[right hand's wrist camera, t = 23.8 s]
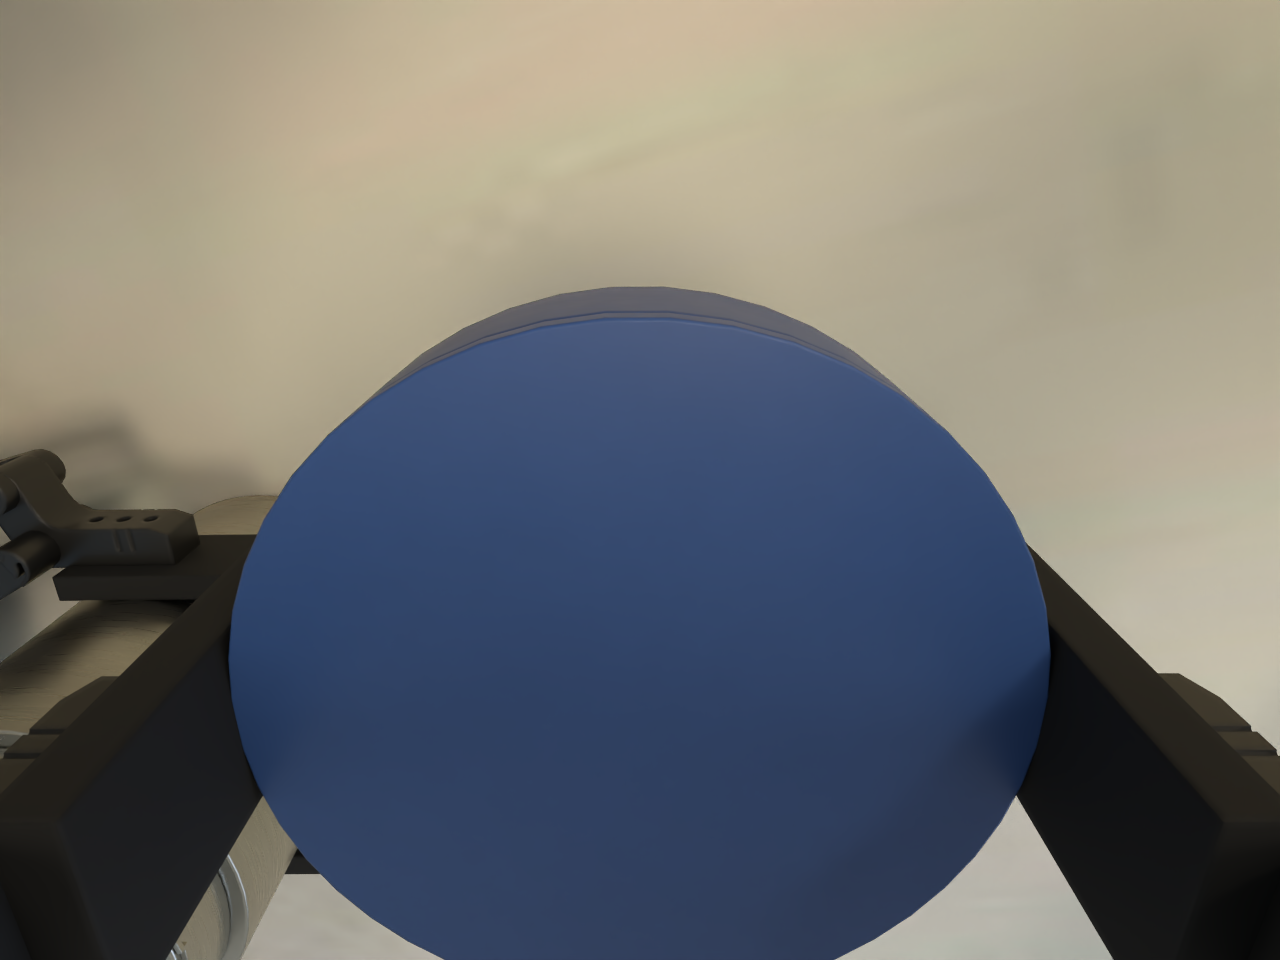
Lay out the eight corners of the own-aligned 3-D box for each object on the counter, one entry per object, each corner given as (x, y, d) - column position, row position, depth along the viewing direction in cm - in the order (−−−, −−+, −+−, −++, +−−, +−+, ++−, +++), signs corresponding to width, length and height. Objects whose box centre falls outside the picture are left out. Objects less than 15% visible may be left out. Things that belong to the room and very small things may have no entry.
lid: (1013, 257, 10) (1110, 282, 8) (952, 860, 14) (1008, 983, 12) (220, 314, 11) (115, 353, 9) (372, 891, 15) (326, 1017, 13)
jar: (225, 729, 34) (-85, 1145, 20) (111, 529, 31) (-367, 856, 16) (439, 679, 33) (277, 1080, 19) (345, 467, 30) (57, 755, 15)
